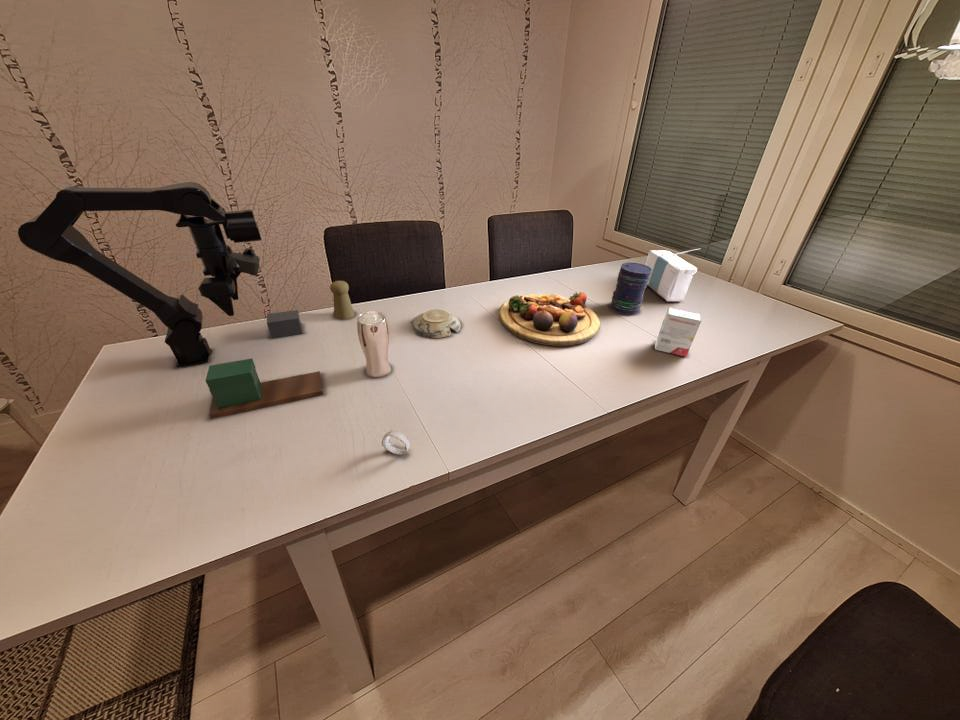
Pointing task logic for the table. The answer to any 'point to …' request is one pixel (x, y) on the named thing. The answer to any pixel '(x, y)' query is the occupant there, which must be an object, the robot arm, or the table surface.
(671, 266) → the radio
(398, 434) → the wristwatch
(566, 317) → the wooden plate
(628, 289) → the storage jar
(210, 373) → the green rectangular block
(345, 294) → the olive green pawn
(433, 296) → the table surface
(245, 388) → the green book
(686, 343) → the ink box
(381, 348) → the beer glass
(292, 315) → the grey book
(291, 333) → the grey book
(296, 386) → the shelf board
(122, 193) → the robot arm
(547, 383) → the table surface
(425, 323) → the decorative bowl
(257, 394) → the green book
